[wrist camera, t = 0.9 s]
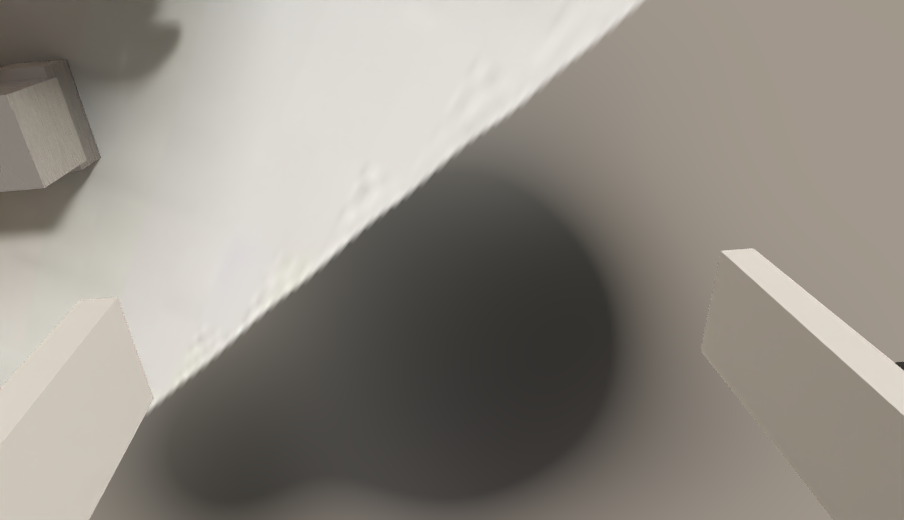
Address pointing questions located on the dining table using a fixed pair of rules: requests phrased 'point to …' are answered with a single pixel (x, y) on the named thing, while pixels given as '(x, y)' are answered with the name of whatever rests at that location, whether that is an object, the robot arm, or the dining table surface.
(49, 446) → the robot arm
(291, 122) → the dining table surface
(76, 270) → the dining table surface
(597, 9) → the dining table surface
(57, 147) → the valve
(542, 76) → the dining table surface
